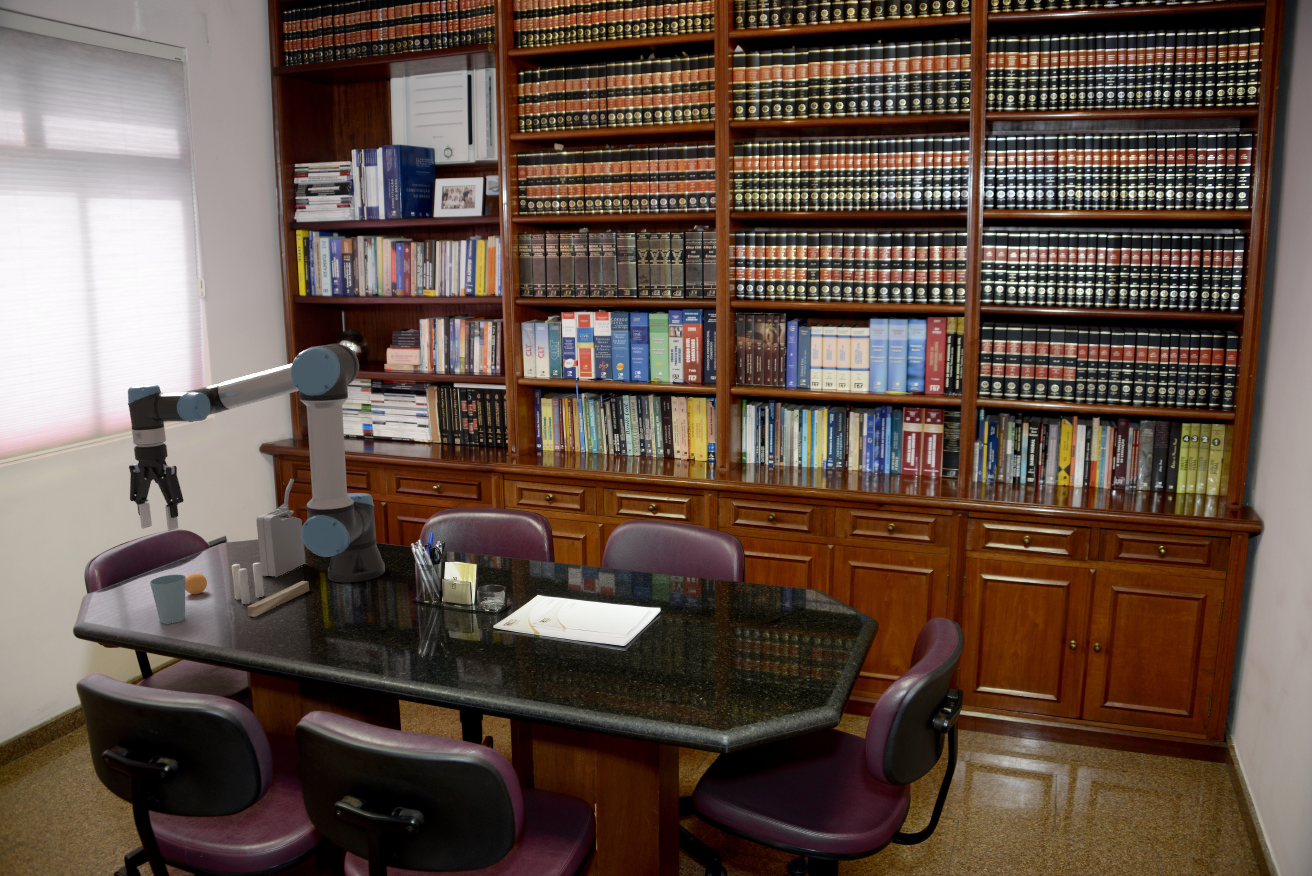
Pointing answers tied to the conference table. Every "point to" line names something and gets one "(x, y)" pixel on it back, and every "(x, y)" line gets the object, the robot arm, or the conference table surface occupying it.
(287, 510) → the fuel canister
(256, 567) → the pin
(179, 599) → the cup
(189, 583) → the ball
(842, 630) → the conference table surface
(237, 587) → the front pin
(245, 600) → the pin
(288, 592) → the beige wooden bar
